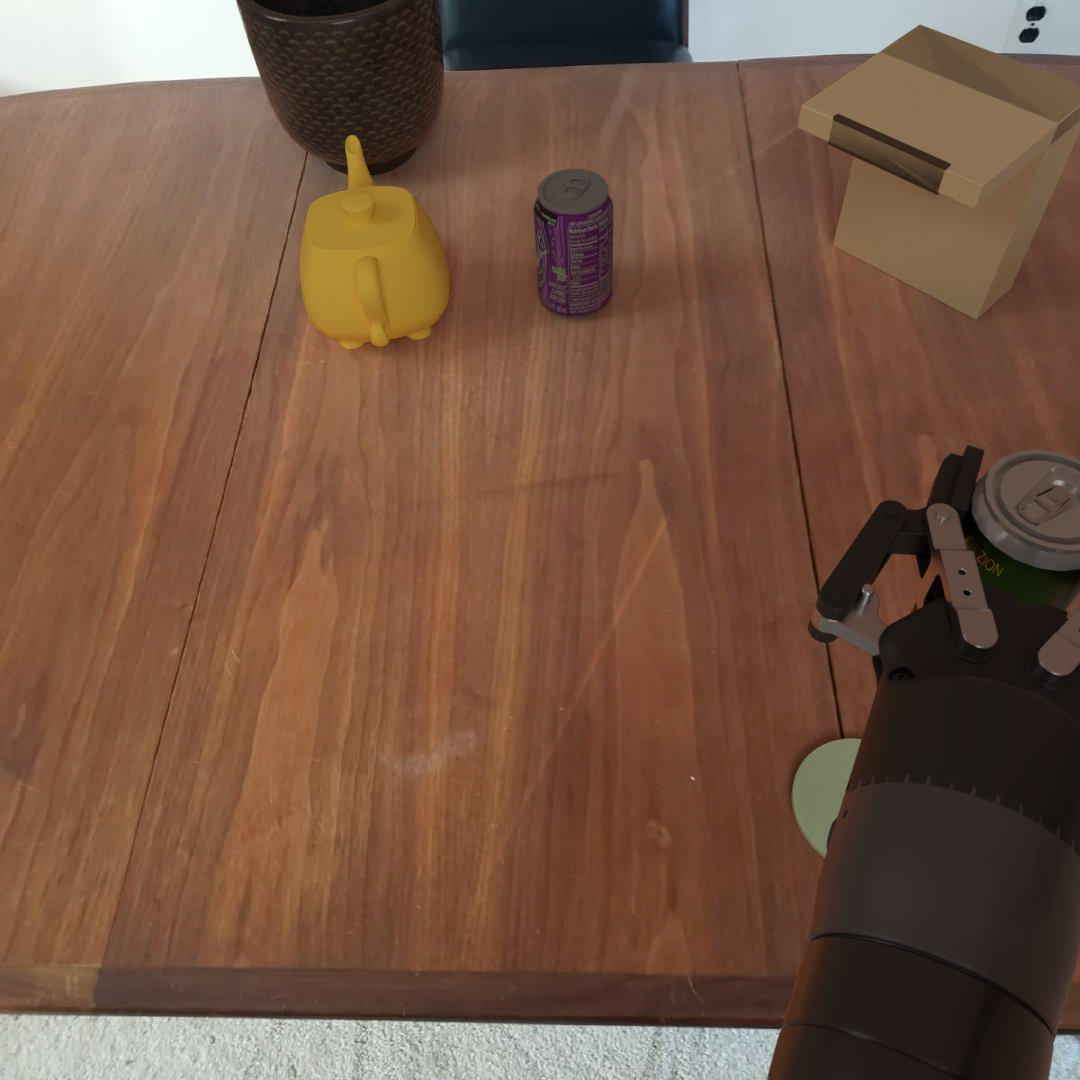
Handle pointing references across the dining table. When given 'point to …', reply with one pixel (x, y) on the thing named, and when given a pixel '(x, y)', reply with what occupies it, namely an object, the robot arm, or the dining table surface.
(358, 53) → the planter
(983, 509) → the beer can
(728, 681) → the dining table surface
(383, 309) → the teapot
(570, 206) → the beverage can
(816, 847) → the coaster
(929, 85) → the lidded cardboard box
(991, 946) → the robot arm
